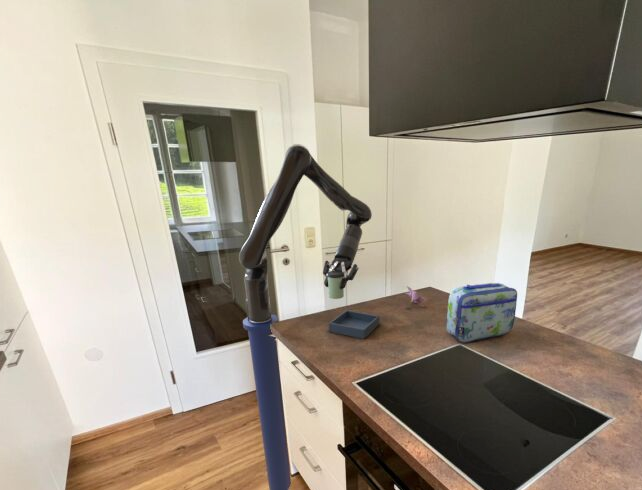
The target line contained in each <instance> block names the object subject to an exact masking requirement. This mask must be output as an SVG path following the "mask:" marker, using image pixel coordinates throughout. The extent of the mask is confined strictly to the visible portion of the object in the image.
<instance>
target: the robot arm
mask: <svg viewBox="0 0 642 490" xmlns="http://www.w3.org/2000/svg"><path fill="white" fill-rule="evenodd" d="M304 176H305V177H306V178H307V179H309V180H310V181H311V182H312V183H313V184H314V185H315V186H316V187H317V188H318V189H319V191H321V193H322V194H323V195H325V197H326V198H327V199H328V200H329V201H330V202H331V203H332V204H333V205H334V206H335V207H337V208H338V209H339V210H340V211H349V212H348V214H347V217H346V222H345V229H344V231H343V235H342V237H341V239H340V241H339V243H338V246H337V249H336V252H335V254H334V259H333V260H332V261H328V260H325V262H324V265H323V270H322V274H323V276H324V277H325V279H324V281H323V285H324V286H325V287H326V288H328V276H327V273H328V272H329V271H342V272H343V278H342V281H341V284H340V289H345V288H346V287H347V283H348V281H353V280H354V278H355V277H356V274H357V273H358V271H359V269H360V268H359V266H358V265H357V263H354V261H355V258H356V256H357V253H358V250H359V245H360V242H361V239H362V236H363V229H362V228H361V227H362V226H363V225H364V224H366V223H368V222H370V220H371V219H372V217H373V214H372V210H371V208H370V207H369V205H368V204H367V203H366V202H364V201H362V200H360V199H358V198H356V197H354V196H353V195H352V194H351V193H349V192H348V191H347V190H346V189H345V188H344V187H343V186H342V185H341V184H340V183H339V182H337V181H336V180H335V179H334V178H333V177H332V176H331V175H330V174H328V172H326V171H325V170H324V169H323V168H322V167H321V166H320V165H319V163H318V162H317V160H315V158H314V157H313V156H312V154H311V153H310V151H309V149H308V148H307V147H306V146H305V145H303V144H300V143H293V144H291V145H289V146H288V147H287V149H286V151H285V155H284V159H283V162H282V166H281V168H280V170H279V174H278V176H277V178H276V180H275V182H274V183H273V185H272V186H271V188H270V189H269V191H268V192H267V194H266V196H265V198H264V200H263V202H262V205H261V207H260V209H259V212H258V213H257V217H256V218H255V222H254V224H253V226H252V230H251V232H250V234H249V236H248V238H247V240H246V241H245V243H244V244H243V246H242V247H241V249H240V251H239V253H238V260H239V263H240V265H241V266H242V267H243V268H244V269H245V273H244V277H243V280H244V289H245V295H246V296H245V297H246V299H245V300H244V301H245V306H244V311H245V313H246V318H248V321H250V322H251V323H253V324H264V323H267V322H270V321H271V320H272V317H271V314H272V311H271V300H270V299H271V298H270V292H269V282H268V276H269V266H268V256H267V251H266V249H267V246H268V244H269V242H270V240H271V239H272V238H273V237H274V235H275V234H276V232H277V231H278V230H279V228H280V227H281V225H282V223H283V221H284V219H285V217H286V215H287V214H288V211H289V208H290V206H291V204H292V201H293V198H294V195H295V191H296V189H297V188H298V185H299V184H300V182H301V180H302V178H303V177H304ZM349 271H350V272H349Z"/></svg>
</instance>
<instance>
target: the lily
mask: <svg viewBox="0 0 642 490" xmlns="http://www.w3.org/2000/svg"><path fill="white" fill-rule="evenodd" d="M406 288H407V290H408V292H406V293H405V295H407V296H408V297H410V298H411V301H410V302H409V304H408V307H407V308H408V309H410V306H411V304H412V302H414V303H415V304H417V303H418V304H420V305H421V306H422V307H423V308H424V304H423V302H428V300H427V299H426V298H424V297H423V296H422V295H419V293H418V291H416V290H413V289H412V288H411V287H409V286H408V285H406Z"/></svg>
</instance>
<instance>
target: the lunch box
mask: <svg viewBox="0 0 642 490" xmlns="http://www.w3.org/2000/svg"><path fill="white" fill-rule="evenodd" d="M447 301H448V303H447V315H446V331H447V333H449V334H450V335H453V336H454V337H455V338H456V340H457V341H458V342H459V343H463V344H464V343H465V344H467V343H469V342H473V341H474V342H475V341H479V340H483V339H487V338H493V337H500V336H505V335H507V334H509V333H510V332H511V331H512V329H513V327H514V323H515V318H516V312H517V311H516V310H517V301H518V291H517V289H516V288H514V287H509V286H507V285H505V284H503V283H501V282H489V283H486V282H485V283H477V284H466V285H464V286H463V285H462V286H459V287H456V288H454V289H453V290H452V291H451V292H450V294H449V296H448V300H447Z"/></svg>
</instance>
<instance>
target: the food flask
mask: <svg viewBox="0 0 642 490" xmlns="http://www.w3.org/2000/svg"><path fill="white" fill-rule="evenodd" d="M327 276H328V287H327V288H328V289H327V291H328V298H329V299H332V300H338V299H339V300H340V299H342V298H344V296H345V292H344V291H345V290H344V289H345V288H343V289H340V284H341V281H342V278H343V272H342V271H335V270H333V271H330V270H329V272H328V273H327Z"/></svg>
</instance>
